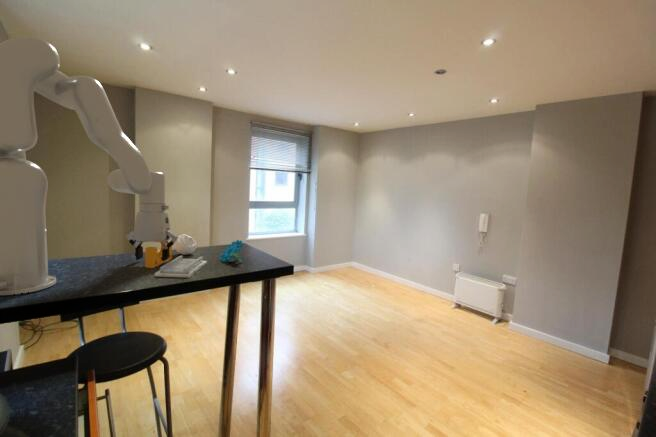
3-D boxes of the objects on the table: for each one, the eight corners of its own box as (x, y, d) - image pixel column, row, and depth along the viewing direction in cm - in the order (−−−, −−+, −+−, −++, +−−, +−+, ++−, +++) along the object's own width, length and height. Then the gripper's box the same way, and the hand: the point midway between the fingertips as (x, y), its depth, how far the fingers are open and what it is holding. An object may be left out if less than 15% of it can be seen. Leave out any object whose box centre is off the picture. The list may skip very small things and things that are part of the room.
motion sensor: (184, 257, 112) (185, 237, 111) (168, 255, 115) (169, 234, 114) (200, 253, 120) (200, 234, 119) (185, 251, 122) (185, 232, 121)
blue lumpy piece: (216, 253, 114) (236, 235, 116) (227, 263, 118) (246, 245, 120) (222, 265, 105) (244, 244, 107) (233, 275, 108) (254, 255, 110)
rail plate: (189, 277, 90) (189, 269, 90) (154, 276, 90) (154, 267, 89) (206, 263, 106) (207, 256, 106) (177, 262, 105) (177, 255, 105)
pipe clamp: (159, 258, 110) (159, 240, 109) (171, 259, 110) (171, 241, 109) (139, 267, 98) (139, 247, 97) (153, 268, 98) (153, 248, 97)
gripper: (183, 208, 106) (183, 257, 108) (131, 206, 105) (132, 255, 107) (174, 210, 99) (174, 263, 101) (118, 207, 97) (119, 261, 99)
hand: (152, 259), depth 104 cm, fingers open, 7 cm apart
